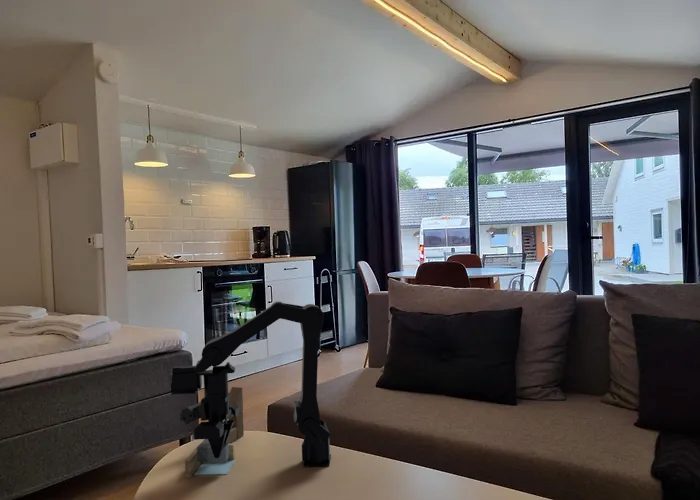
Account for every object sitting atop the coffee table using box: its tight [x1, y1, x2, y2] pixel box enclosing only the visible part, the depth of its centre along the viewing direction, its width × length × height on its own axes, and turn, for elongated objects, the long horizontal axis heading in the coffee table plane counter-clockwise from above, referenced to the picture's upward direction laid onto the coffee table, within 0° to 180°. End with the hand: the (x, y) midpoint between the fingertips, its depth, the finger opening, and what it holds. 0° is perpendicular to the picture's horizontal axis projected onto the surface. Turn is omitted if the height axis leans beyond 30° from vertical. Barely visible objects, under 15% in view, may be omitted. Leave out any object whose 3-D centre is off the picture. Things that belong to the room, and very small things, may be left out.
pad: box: [193, 459, 236, 476], centre depth 129 cm, size 8×8×1 cm
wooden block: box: [226, 386, 245, 444], centre depth 148 cm, size 4×11×18 cm, turn 160°
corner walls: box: [184, 442, 236, 478], centre depth 130 cm, size 9×11×4 cm
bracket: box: [196, 439, 229, 463], centre depth 129 cm, size 7×7×4 cm
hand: (218, 455), depth 127 cm, fingers closed on bracket, 3 cm apart
